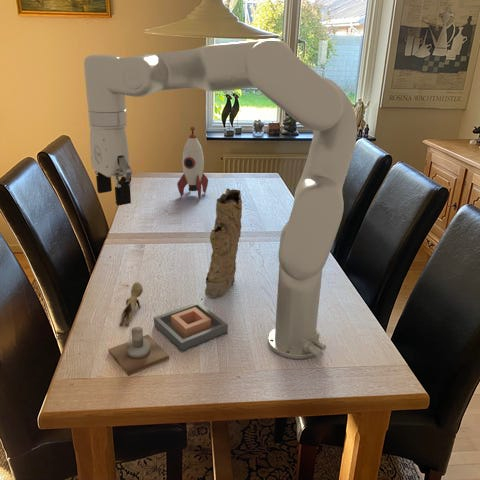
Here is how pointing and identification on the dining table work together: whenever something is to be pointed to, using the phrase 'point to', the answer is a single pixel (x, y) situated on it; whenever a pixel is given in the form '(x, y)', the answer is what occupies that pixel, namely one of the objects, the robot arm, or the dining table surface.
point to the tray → (176, 338)
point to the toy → (193, 167)
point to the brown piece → (138, 353)
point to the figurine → (131, 303)
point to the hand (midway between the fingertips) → (113, 197)
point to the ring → (190, 315)
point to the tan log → (224, 243)
